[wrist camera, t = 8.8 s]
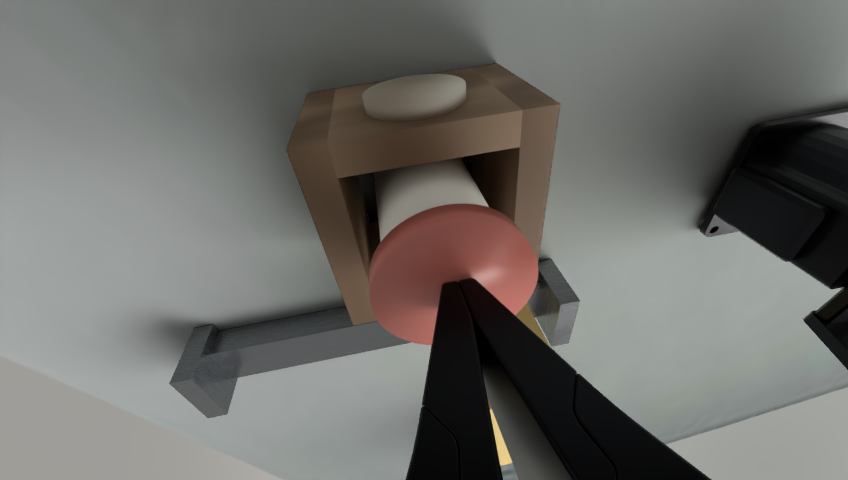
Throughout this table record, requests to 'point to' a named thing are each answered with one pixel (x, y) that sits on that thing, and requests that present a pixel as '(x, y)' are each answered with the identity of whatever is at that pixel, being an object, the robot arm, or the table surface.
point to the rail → (324, 342)
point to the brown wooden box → (420, 155)
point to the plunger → (441, 247)
